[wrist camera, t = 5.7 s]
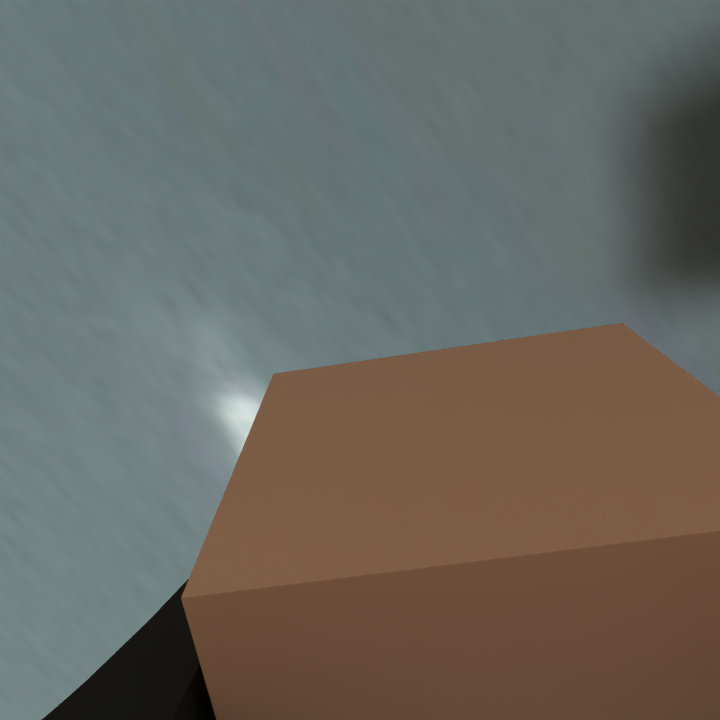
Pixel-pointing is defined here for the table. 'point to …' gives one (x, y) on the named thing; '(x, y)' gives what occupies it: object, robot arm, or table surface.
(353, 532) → the terracotta block
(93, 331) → the table surface
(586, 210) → the table surface
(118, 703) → the robot arm
